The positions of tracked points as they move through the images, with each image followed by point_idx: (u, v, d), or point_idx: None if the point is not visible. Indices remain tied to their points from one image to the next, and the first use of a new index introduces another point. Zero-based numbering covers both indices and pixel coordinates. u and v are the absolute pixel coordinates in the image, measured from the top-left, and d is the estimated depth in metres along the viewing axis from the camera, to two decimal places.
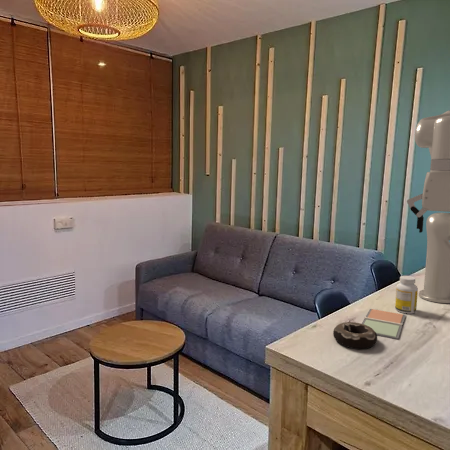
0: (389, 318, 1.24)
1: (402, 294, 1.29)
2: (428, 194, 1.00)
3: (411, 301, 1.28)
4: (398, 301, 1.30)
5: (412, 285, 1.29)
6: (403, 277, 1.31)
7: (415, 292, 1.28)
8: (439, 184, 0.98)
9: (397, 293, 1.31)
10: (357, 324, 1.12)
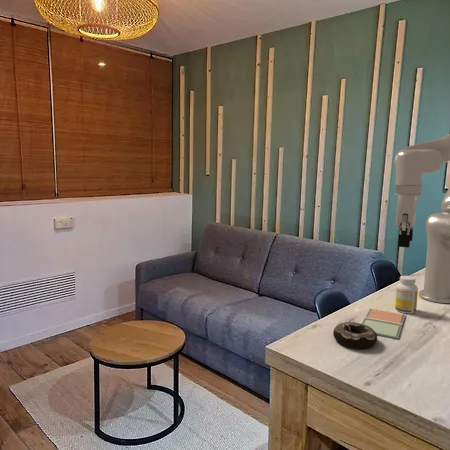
0: (389, 318, 1.24)
1: (402, 294, 1.29)
2: (413, 214, 1.20)
3: (411, 301, 1.28)
4: (398, 301, 1.30)
5: (412, 285, 1.29)
6: (403, 277, 1.31)
7: (415, 292, 1.28)
8: (415, 204, 1.21)
9: (397, 293, 1.31)
10: (357, 324, 1.12)
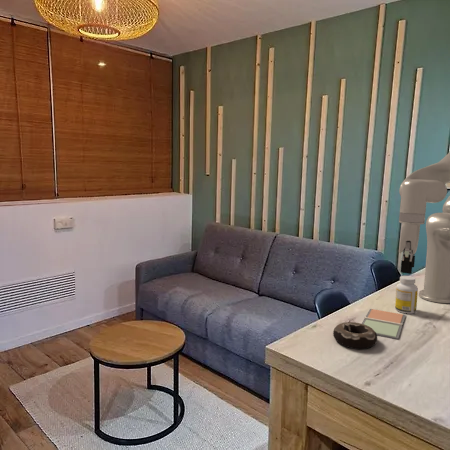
0: (389, 318, 1.24)
1: (402, 294, 1.29)
2: (416, 242, 1.24)
3: (411, 301, 1.28)
4: (398, 301, 1.30)
5: (412, 285, 1.29)
6: (403, 277, 1.31)
7: (415, 292, 1.28)
8: (418, 232, 1.25)
9: (397, 293, 1.31)
10: (357, 324, 1.12)
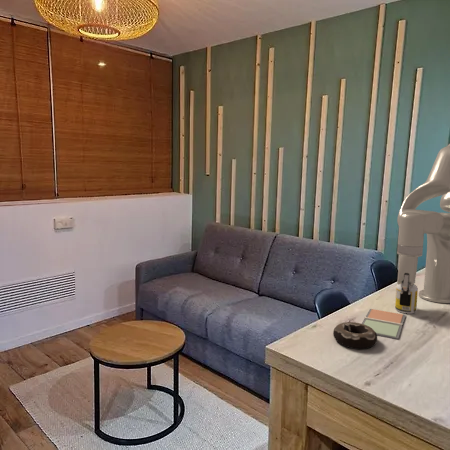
0: (389, 318, 1.24)
1: None
2: (414, 274, 1.26)
3: (411, 301, 1.28)
4: (398, 301, 1.30)
5: None
6: None
7: (415, 292, 1.28)
8: (416, 264, 1.27)
9: (397, 293, 1.31)
10: (357, 324, 1.12)
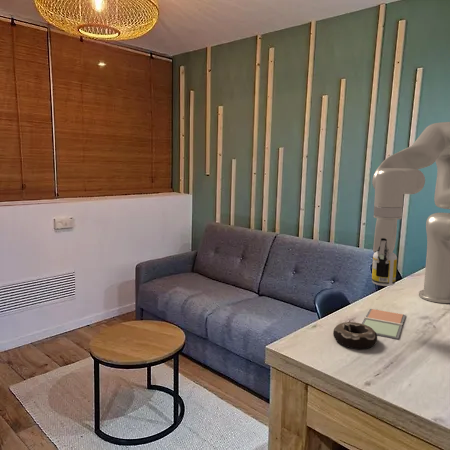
0: (389, 318, 1.24)
1: None
2: (392, 240, 1.09)
3: (389, 271, 1.11)
4: (375, 272, 1.13)
5: (390, 253, 1.12)
6: None
7: (394, 261, 1.11)
8: (395, 229, 1.10)
9: (373, 263, 1.14)
10: (357, 324, 1.12)
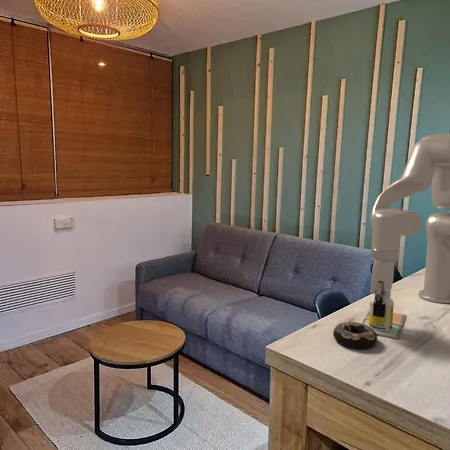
0: None
1: None
2: (389, 282, 1.11)
3: (386, 317, 1.13)
4: (372, 317, 1.15)
5: (387, 299, 1.14)
6: None
7: (390, 307, 1.13)
8: (392, 271, 1.12)
9: (371, 308, 1.16)
10: (357, 324, 1.12)
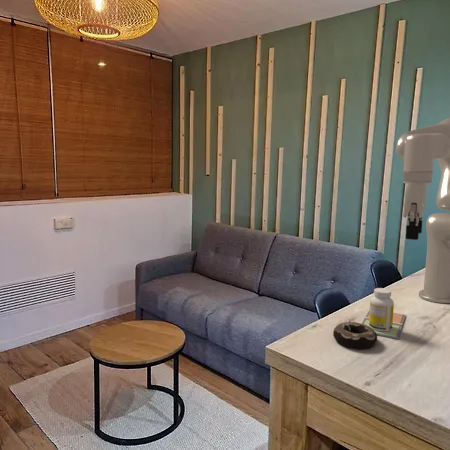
0: None
1: (376, 309, 1.14)
2: (423, 204, 1.10)
3: (386, 317, 1.13)
4: (372, 317, 1.15)
5: (387, 299, 1.14)
6: (377, 290, 1.16)
7: (391, 307, 1.13)
8: (425, 193, 1.11)
9: (371, 308, 1.16)
10: (357, 324, 1.12)
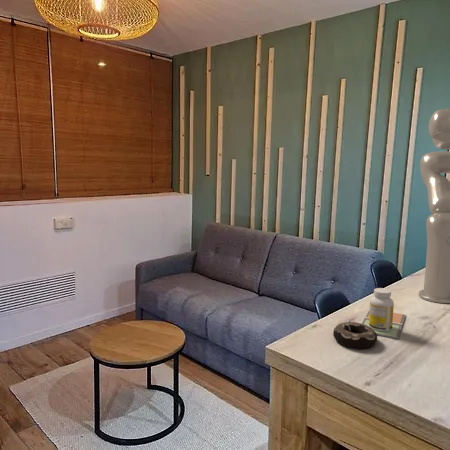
0: None
1: (376, 309, 1.14)
2: None
3: (386, 317, 1.13)
4: (372, 317, 1.15)
5: (387, 299, 1.14)
6: (377, 290, 1.15)
7: (390, 307, 1.13)
8: None
9: (371, 308, 1.16)
10: (357, 324, 1.12)
